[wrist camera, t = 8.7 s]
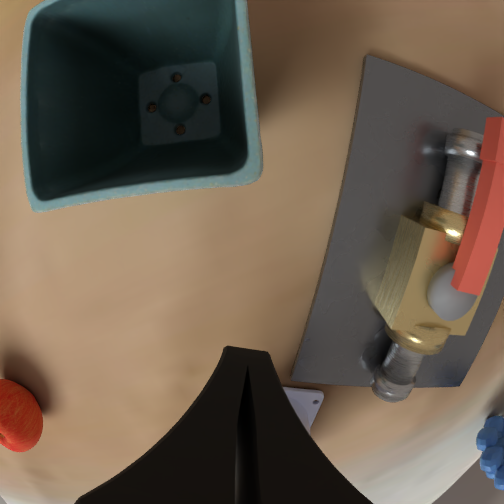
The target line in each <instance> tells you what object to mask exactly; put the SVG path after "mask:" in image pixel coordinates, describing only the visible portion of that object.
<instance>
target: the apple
mask: <svg viewBox="0 0 504 504" xmlns="http://www.w3.org/2000/svg"><path fill="white" fill-rule="evenodd" d="M42 429H43V417H42V412H41V409H40V407H39V405H38V403H37V401H36V399H35V397H34V396H33V395H32V394H31V393H30V392H29V391H28V390H27V389H26V388H24V387H22V386H21V385H19V384H17V383H16V382H13V381H11V380H7V379H0V444H2V445H3V446H5V447H6V448H8V449H10V450H12V451H15V452H24V451H27V450H29V449H31V448H32V447H34V446H35V445H36V444H37V442H38V441H39V439H40V437H41V434H42Z"/></svg>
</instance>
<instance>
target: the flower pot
mask: <svg viewBox="0 0 504 504" xmlns="http://www.w3.org/2000/svg"><path fill="white" fill-rule="evenodd" d="M23 32H24V34H23V45H22V58H21V89H20V92H21V97H20V101H21V104H20V105H21V141H22V142H21V147H22V157H23V167H24V177H25V186H26V193H27V196H28V200H29V203H30V206H31V208H32V211H34V212H37V213H40V212H47V211H51V210H55V209H61V208H65V207H70V206H76V205H81V204H87V203H91V202H97V201H103V200H109V199H116V198H123V197H131V196H138V195H146V194H153V193H162V192H169V191H181V190H190V189H204V188H217V187H236V186H243V185H248V184H251V183H253V182H255V181H257V180H258V179H259V178H260V176H261V174H262V171H263V152H262V143H261V137H260V126H259V115H258V106H257V97H256V88H255V76H254V67H253V58H252V46H251V36H250V26H249V17H248V6H247V0H44V1H42V2H41V3H39V4H38V5H36V6H35V7H33V8H32V9H31V10H30V11H29V13H28V16H27V19H26V23H25V26H24V31H23ZM175 75H180V76H181V80H179V81H178V82H174V81H173V77H174V76H175ZM204 96H209V97H210V102H209V103H208V104H204V103H203V102H202V98H203V97H204ZM150 104H155V105H156V110H155V111H154V112H149V111H148V107H149V105H150ZM178 126H183V127H184V128H185V132H184V133H183V134H178V133H177V132H176V129H177V127H178Z"/></svg>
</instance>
